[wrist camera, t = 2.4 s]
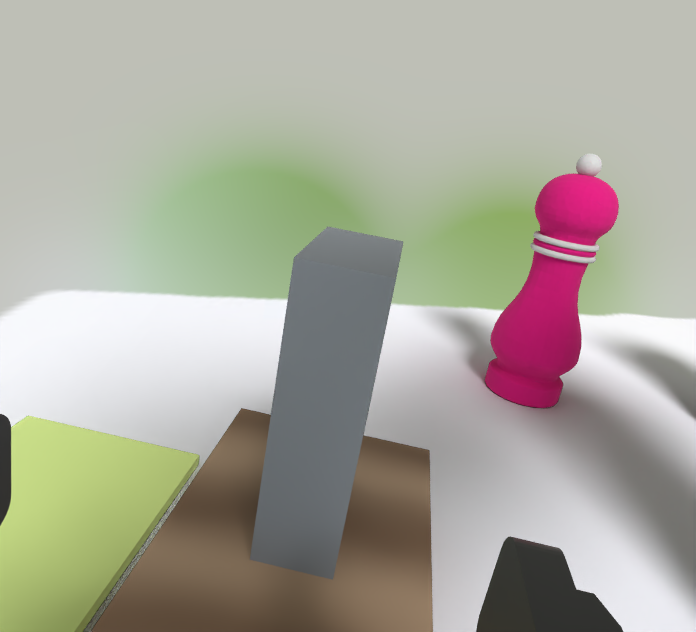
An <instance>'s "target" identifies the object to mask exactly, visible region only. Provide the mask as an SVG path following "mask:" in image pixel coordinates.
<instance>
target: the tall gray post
mask: <svg viewBox="0 0 696 632" xmlns="http://www.w3.org/2000/svg"><path fill="white" fill-rule="evenodd" d="M402 246H403V241H398V240H393V239H388V238H383V237H378V236H373V235H367V234H362V233H357V232H352V231H347V230H342V229H337V228H331V227H327V228H326V229H325V230H324V231H323V232H321V233H320V234H319V235H318V236H317V237H316V238H315V239H314V240H313V241H312V242H310V243H309V244H308V245H307V246H306V247H305V248H304V249H303V250H302V251H301V252H300V253H298V254H297V255H296V256H295V257H294V262H293V268H292V275H291V282H290V289H289V295H288V302H287V309H286V316H285V323H284V329H283V336H282V343H281V350H280V357H279V363H278V370H277V377H276V384H275V391H274V398H273V404H272V411H271V418H270V425H269V432H268V438H267V445H266V452H265V459H264V466H263V473H262V479H261V486H260V493H259V500H258V507H257V513H256V520H255V527H254V534H253V541H252V547H251V554H250V560H253V561H257V562H262V563H266V564H270V565H274V566H278V567H282V568H286V569H291V570H295V571H299V572H303V573H307V574H311V575H315V576H319V577H324V578H328V579H332V580H333V577H334V572H335V567H336V563H337V558H338V553H339V548H340V544H341V539H342V534H343V529H344V525H345V520H346V515H347V510H348V506H349V501H350V496H351V491H352V486H353V482H354V477H355V472H356V467H357V463H358V458H359V453H360V448H361V444H362V439H363V434H364V429H365V425H366V420H367V415H368V410H369V405H370V401H371V396H372V391H373V386H374V382H375V377H376V372H377V367H378V363H379V358H380V353H381V348H382V344H383V339H384V334H385V329H386V324H387V320H388V315H389V310H390V305H391V301H392V296H393V291H394V286H395V282H396V276H397V272H398V267H399V261H400V256H401V251H402Z"/></svg>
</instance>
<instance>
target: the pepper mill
mask: <svg viewBox="0 0 696 632" xmlns="http://www.w3.org/2000/svg"><path fill="white" fill-rule="evenodd" d="M601 167H602V162H601V159H600V158H599V157H598V156H597V155H595V154H586V155H584V156H582V157H581V158H580V159H579V160H578V162H577V166H576V169H577V172H578V174H566V175H562V176H559V177H557V178H554V179H553V180H551V181H550V182H548V183H547V184H546V185H545V186H544V187H543V189H542V191H541V192H540V194H539V196H538V198H537V201H536V205H535V213H536V217H537V219H538V222H539V224H540V231H536V232H535V233H534V237H535V238H534V240H533V241H534V242H533V243H532V244H531V248H532V249H533V250H535V251H534V256H533V263H532V267H531V270H530V273H529V276H528V278H527V281H526V282H525V284H524V286H523V288H522V290H521V291H520V293H519V294H518V295H517V296H516V298H515V299H514V300H513V301H512V302H511V303H510V304H509V305H508V307H507V308H506V309H505V310H504V311H503V312H502V314H501V315H500V317H499V318H498V320H497V322H496V323H495V326H494V328H493V331H492V334H491V345H492V348H493V351H494V352H495V354H496V356H497V358H496V359H493V360H492V361H491V362H490V363H489V366H488V370H487V373H486V377H485V382H486V384H487V386H488V387H489V388H490V389H491V390H492V391H493V392H494V393H495V394H497V395H499V396H501V397H502V398H504V399H507V400H509V401H512V402H514V403H517V404H520V405H524V406H529V407H536V408H547V407H551V406H554V405H555V404H556V403H557V402H558V399H559V396H560V393H561V390H562V387H563V382H562V380H561V379H560V377H559V376H560V375H562V374H564V373H566V372H568V371H570V370H571V369H572V368H573V367H574V366H575V365H576V364H577V362H578V359H579V355H580V350H581V329H580V322H579V316H578V307H577V303H578V291H579V287H580V284H581V280H582V277H583V274H584V272H585V270H586V268H587V266H588V263H593V262H595V261H596V258H595V255H596V251H598V250H599V246H598V245H597V244H595V243H596V241H597V240H598V238H600V237H601V236H602V235H604V234H605V233H607V232H608V231H609V230H610V229H611V228H612V227H613V225H614V223H615V221H616V219H617V215H618V208H619V205H618V198H617V195H616V193H615V192H614V190H613V189H612V188H611V187H610V186H609V185H608V184H607V183H606V182H604V181H602V180H601V179H599V178H596V177H594V176H596V175H597V174H598V173H599V172H600V170H601Z"/></svg>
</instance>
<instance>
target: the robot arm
mask: <svg viewBox="0 0 696 632" xmlns="http://www.w3.org/2000/svg"><path fill="white" fill-rule="evenodd" d="M10 502H11V425H10V422H9V420H8V418H7V417H6V416H4V415H2V414H0V525H1V524H2V522H3V520H4V518H5V516H6V514H7V512H8V509H9V506H10ZM476 632H623V630H622V628H621V626H620V625H619V624H618V623H617V621H616V620H615V619H614V618H613V616H612V615H611V614H610V613H609V611H608V610H607V609H606V608H605V607H604V605H603V604H602V603H601V602H600V600H599V599H598V598H597V597H596V595H595V594H593V593H589V592H584V591H580V590H576V587H575V585H574V582H573V579H572V576H571V573H570V570H569V567H568V565H567V562H566V559H565V556H564V554H563V552H562V551H561V549H559V548H556V547H552V546H548V545H543V544H539V543H535V542H531V541H526V540H522V539H518V538H514V537H508V538H507V539H506V540H505V541H504V543H503V545H502V548H501V551H500V554H499V557H498V560H497V563H496V566H495V569H494V572H493V575H492V578H491V581H490V584H489V588H488V591H487V594H486V597H485V600H484V603H483V606H482V609H481V612H480V615H479V619H478V624H477V631H476Z"/></svg>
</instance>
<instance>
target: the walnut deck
mask: <svg viewBox="0 0 696 632" xmlns="http://www.w3.org/2000/svg"><path fill="white" fill-rule="evenodd" d="M270 418H271V415H269V414H265V413H260V412H256V411H251V410H247V409H242V408H241V410H240V411H239V413H238V414H237V416H236V417H235V419H234V420H233V422H232V423H231V425H230V426H229V428H228V429H227V431H226V432H225V434H224V435H223V437H222V438H221V439H220V441H219V442H218V444H217V445H216V447H215V448H214V450H213V451H212V453H211V454H210V456H209V457H208V459H207V460H206V462H205V463H204V465H203V466H202V468H201V469H200V471H199V472H198V473H197V475H196V476H195V478H194V479H193V481H192V482H191V484H190V485H189V487H188V488H187V490H186V491H185V493H184V494H183V496H182V497H181V499H180V500H179V502H178V503H177V505H176V506H175V508H174V509H173V510H172V512H171V513H170V515H169V516H168V518H167V519H166V521H165V522H164V524H163V525H162V527H161V528H160V530H159V531H158V533H157V534H156V536H155V537H154V539H153V540H152V542H151V543H150V544H149V546H148V547H147V549H146V550H145V552H144V553H143V555H142V556H141V558H140V559H139V561H138V562H137V564H136V565H135V567H134V568H133V570H132V571H131V573H130V574H129V576H128V577H127V579H126V580H125V581H124V583H123V584H122V586H121V587H120V589H119V590H118V592H117V593H116V595H115V596H114V598H113V599H112V601H111V602H110V604H109V605H108V607H107V608H106V610H105V611H104V613H103V614H102V615H101V617H100V618H99V620H98V621H97V623H96V624H95V626H94V627H93V629H92V630H91V632H433V619H432V565H431V511H430V457H429V450H426V449H422V448H417V447H413V446H408V445H404V444H399V443H395V442H390V441H386V440H381V439H377V438H372V437H368V436H363V439H362V444H361V448H360V453H359V458H358V463H357V467H356V472H355V477H354V482H353V486H352V491H351V496H350V501H349V506H348V510H347V515H346V520H345V525H344V529H343V534H342V539H341V544H340V548H339V553H338V558H337V563H336V567H335V572H334V577H333V580H332V579H328V578H324V577H319V576H315V575H311V574H307V573H303V572H299V571H295V570H291V569H286V568H282V567H278V566H274V565H270V564H266V563H262V562H257V561H253V560H250V554H251V547H252V541H253V534H254V527H255V520H256V513H257V507H258V500H259V493H260V486H261V479H262V473H263V466H264V459H265V452H266V445H267V438H268V432H269V425H270Z"/></svg>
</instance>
